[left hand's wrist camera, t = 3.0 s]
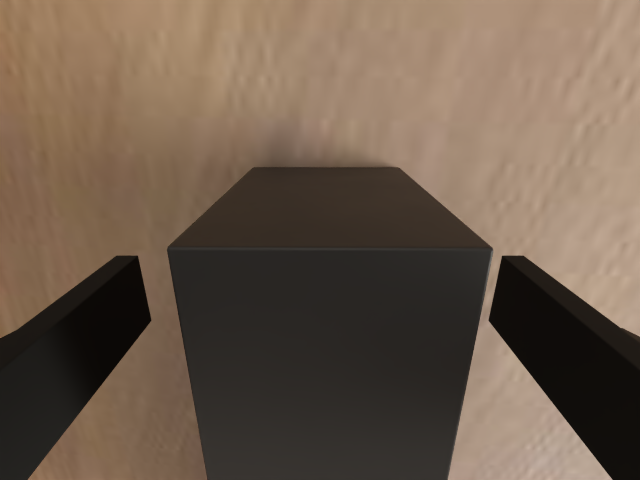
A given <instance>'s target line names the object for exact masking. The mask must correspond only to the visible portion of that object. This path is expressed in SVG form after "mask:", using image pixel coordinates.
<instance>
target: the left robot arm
mask: <svg viewBox="0 0 640 480" xmlns="http://www.w3.org/2000/svg"><path fill="white" fill-rule="evenodd" d="M150 322H151V316H150V312H149V307H148V302H147V297H146V292H145V288H144V283H143V278H142V273H141V269H140V264H139V259H138V256H116V257H114V258H113V259H112V260H110V261H109V262H108V263H106V264H105V265H103V266H102V267H101V268H99V269H98V270H97V271H95V272H94V273H93V274H91V275H90V276H89V277H87V278H86V279H85V280H83V281H82V282H81V283H79V284H78V285H77V286H75V287H74V288H73V289H71V290H70V291H69V292H67V293H66V294H65V295H63V296H62V297H61V298H59V299H58V300H57V301H55V302H54V303H52V304H51V305H50V306H48V307H47V308H46V309H44V310H43V311H42V312H40V313H39V314H38V315H36V316H35V317H34V318H32V319H31V320H30V321H28V322H27V323H26V324H24V325H23V326H22V327H20V328H19V329H18V330H16V331H14V332H12V333H10V334H8V335H6V336H4V337H2V338H0V480H28V478H29V477H30V476H31V474H32V473H33V472H34V471H35V469H36V468H37V467H38V465H39V464H40V463H41V462H42V460H43V459H44V458H45V456H46V455H47V454H48V453H49V451H50V450H51V449H52V447H53V446H54V445H55V444H56V442H57V441H58V440H59V438H60V437H61V436H62V435H63V433H64V432H65V431H66V429H67V428H68V427H69V426H70V424H71V423H72V422H73V421H74V419H75V418H76V417H77V415H78V414H79V413H80V412H81V410H82V409H83V408H84V406H85V405H86V404H87V403H88V401H89V400H90V399H91V397H92V396H93V395H94V394H95V392H96V391H97V390H98V388H99V387H100V386H101V385H102V383H103V382H104V381H105V379H106V378H107V377H108V376H109V374H110V373H111V372H112V370H113V369H114V368H115V367H116V365H117V364H118V363H119V361H120V360H121V359H122V358H123V356H124V355H125V354H126V352H127V351H128V350H129V349H130V347H131V346H132V345H133V344H134V342H135V341H136V340H137V338H138V337H139V336H140V335H141V333H142V332H143V331H144V329H145V328H146V327H147V326H148V324H149V323H150ZM489 322H490V323H491V324H492V326H493V327H494V328H495V329H496V331H497V332H498V333H499V335H500V336H501V337H502V338H503V340H504V341H505V342H506V344H507V345H508V346H509V347H510V349H511V350H512V351H513V352H514V354H515V355H516V356H517V358H518V359H519V360H520V361H521V363H522V364H523V365H524V367H525V368H526V369H527V370H528V372H529V373H530V374H531V376H532V377H533V378H534V379H535V381H536V382H537V383H538V385H539V386H540V387H541V388H542V390H543V391H544V392H545V394H546V395H547V396H548V397H549V399H550V400H551V401H552V403H553V404H554V405H555V406H556V408H557V409H558V410H559V412H560V413H561V414H562V415H563V417H564V418H565V419H566V421H567V422H568V423H569V424H570V426H571V427H572V428H573V429H574V431H575V432H576V433H577V435H578V436H579V437H580V438H581V440H582V441H583V442H584V444H585V445H586V446H587V447H588V449H589V450H590V451H591V453H592V454H593V455H594V456H595V458H596V459H597V460H598V462H599V463H600V464H601V465H602V467H603V468H604V469H605V471H606V472H607V473H608V474H609V476H610V477H611V478H612V480H640V337H639V336H637V335H635V334H633V333H631V332H629V331H627V330H625V329H623V328H620V327H618V326H617V325H616V324H614V323H613V322H612V321H610V320H609V319H608V318H606V317H605V316H604V315H602V314H601V313H600V312H598V311H597V310H596V309H594V308H593V307H592V306H590V305H589V304H588V303H586V302H585V301H583V300H582V299H581V298H579V297H578V296H577V295H575V294H574V293H573V292H571V291H570V290H569V289H567V288H566V287H565V286H563V285H562V284H561V283H559V282H558V281H557V280H555V279H554V278H553V277H551V276H550V275H549V274H547V273H546V272H545V271H543V270H542V269H541V268H539V267H538V266H537V265H535V264H534V263H532V262H531V261H530V260H528V259H527V258H526V257H524V256H502V259H501V264H500V269H499V273H498V278H497V283H496V288H495V292H494V297H493V302H492V307H491V312H490V316H489Z"/></svg>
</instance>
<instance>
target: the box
mask: <svg viewBox="0 0 640 480" xmlns="http://www.w3.org/2000/svg"><path fill="white" fill-rule="evenodd" d="M167 252H168V258H169V264H170V269H171V275H172V281H173V286H174V292H175V298H176V303H177V309H178V315H179V320H180V326H181V332H182V337H183V343H184V349H185V354H186V360H187V366H188V371H189V377H190V383H191V388H192V394H193V400H194V405H195V411H196V417H197V422H198V428H199V434H200V439H201V445H202V451H203V456H204V462H205V468H206V473H207V479H208V480H448V475H449V470H450V465H451V460H452V455H453V450H454V445H455V440H456V435H457V430H458V425H459V420H460V415H461V410H462V405H463V400H464V395H465V390H466V385H467V380H468V375H469V370H470V365H471V360H472V355H473V350H474V345H475V340H476V335H477V330H478V325H479V320H480V315H481V310H482V305H483V300H484V295H485V290H486V285H487V280H488V275H489V270H490V265H491V260H492V255H493V248H492V247H491V246H490V245H488V244H487V243H486V242H485V241H484V240H483V239H481V238H480V237H479V236H478V235H477V234H476V233H474V232H473V231H472V230H471V229H470V228H469V227H468V226H466V225H465V224H464V223H463V222H462V221H461V220H459V219H458V218H457V217H456V216H455V215H454V214H452V213H451V212H450V211H449V210H448V209H447V208H445V207H444V206H443V205H442V204H441V203H440V202H438V201H437V200H436V199H435V198H434V197H433V196H431V195H430V194H429V193H428V192H427V191H426V190H424V189H423V188H422V187H421V186H420V185H419V184H417V183H416V182H415V181H414V180H413V179H412V178H410V177H409V176H408V175H407V174H406V173H405V172H403V171H402V170H401V169H400V168H309V167H254V168H252V169H251V170H250V171H249V172H248V173H247V174H246V175H245V176H244V177H242V178H241V179H240V180H239V181H238V182H237V183H236V184H235V185H234V186H233V187H232V188H231V189H230V190H229V191H227V192H226V193H225V194H224V195H223V196H222V197H221V198H220V199H219V200H218V201H217V202H216V203H215V204H213V205H212V206H211V207H210V208H209V209H208V210H207V211H206V212H205V213H204V214H203V215H202V216H201V217H199V218H198V219H197V220H196V221H195V222H194V223H193V224H192V225H191V226H190V227H189V228H188V229H187V230H185V231H184V232H183V233H182V234H181V235H180V236H179V237H178V238H177V239H176V240H175V241H174V242H173V243H172V244H170V245H169V246H168V248H167Z"/></svg>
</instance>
